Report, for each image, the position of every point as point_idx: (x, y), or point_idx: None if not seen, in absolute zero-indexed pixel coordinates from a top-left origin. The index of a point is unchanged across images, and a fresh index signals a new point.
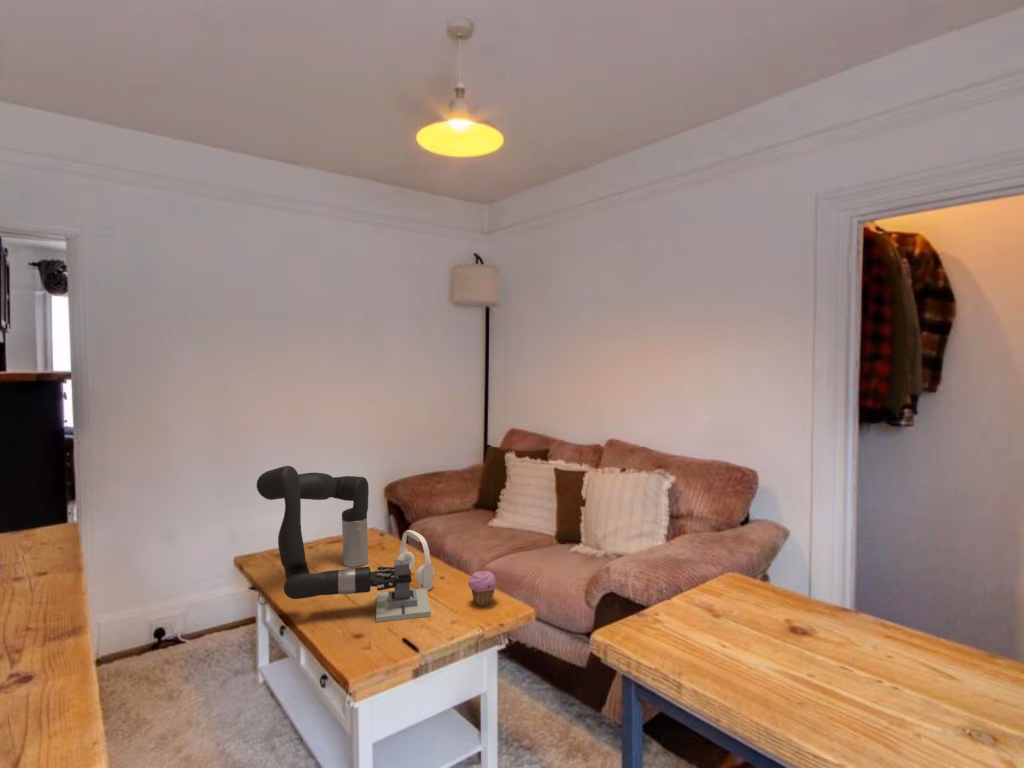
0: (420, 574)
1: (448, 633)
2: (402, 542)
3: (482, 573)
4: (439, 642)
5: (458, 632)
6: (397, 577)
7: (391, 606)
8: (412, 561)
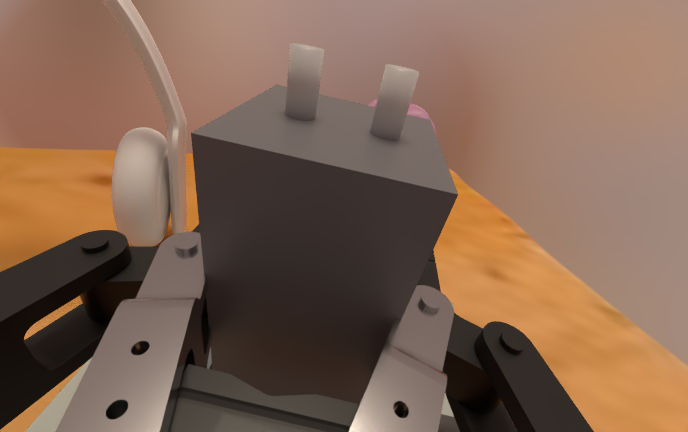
0: (156, 195)
1: (581, 311)
2: None
3: (410, 104)
4: (663, 358)
5: (566, 286)
6: (446, 304)
7: None
8: None
